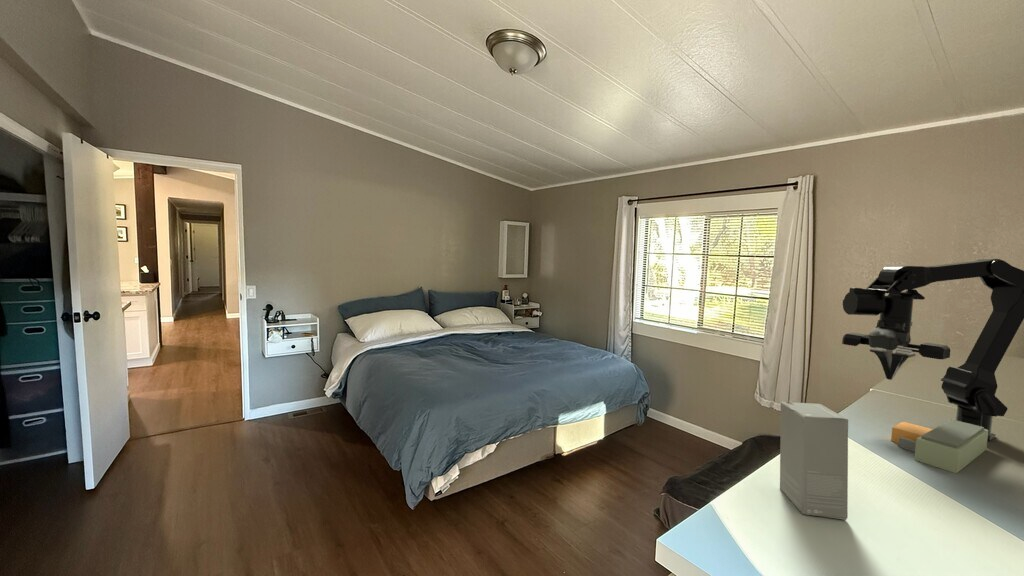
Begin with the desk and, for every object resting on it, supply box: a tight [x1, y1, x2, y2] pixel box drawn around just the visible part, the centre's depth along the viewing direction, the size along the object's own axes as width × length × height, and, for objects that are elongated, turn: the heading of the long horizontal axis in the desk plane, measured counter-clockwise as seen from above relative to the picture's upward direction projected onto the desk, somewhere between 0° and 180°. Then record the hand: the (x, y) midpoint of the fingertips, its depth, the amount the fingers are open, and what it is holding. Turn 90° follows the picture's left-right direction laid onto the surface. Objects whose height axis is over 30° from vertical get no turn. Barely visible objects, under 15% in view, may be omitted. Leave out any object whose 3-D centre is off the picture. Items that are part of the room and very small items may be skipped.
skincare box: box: [779, 401, 849, 521], centre depth 66 cm, size 8×7×16 cm
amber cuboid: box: [890, 421, 934, 444], centre depth 92 cm, size 7×6×4 cm
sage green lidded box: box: [897, 419, 988, 474], centre depth 88 cm, size 22×10×5 cm, turn 121°
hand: (889, 379), depth 101 cm, fingers closed
